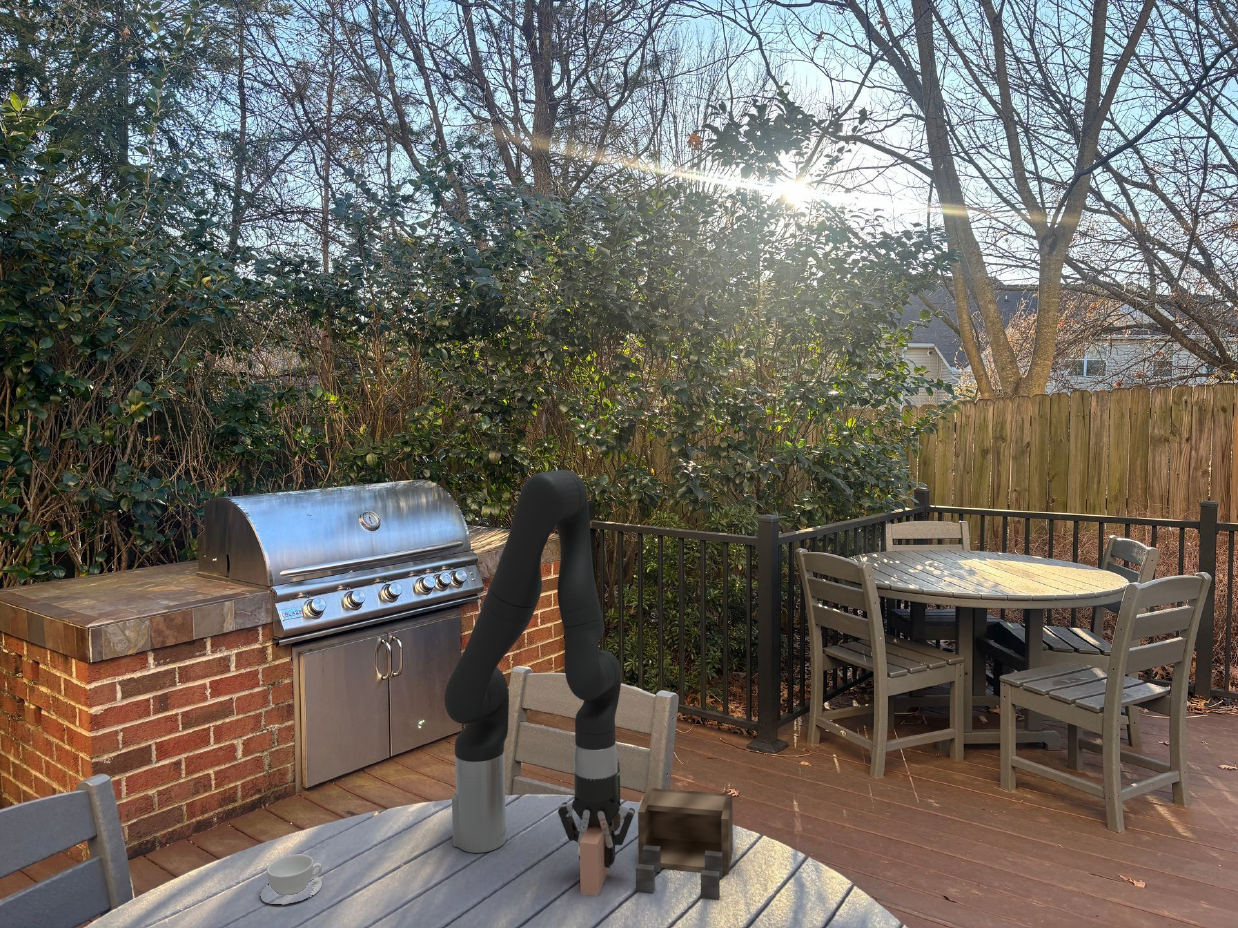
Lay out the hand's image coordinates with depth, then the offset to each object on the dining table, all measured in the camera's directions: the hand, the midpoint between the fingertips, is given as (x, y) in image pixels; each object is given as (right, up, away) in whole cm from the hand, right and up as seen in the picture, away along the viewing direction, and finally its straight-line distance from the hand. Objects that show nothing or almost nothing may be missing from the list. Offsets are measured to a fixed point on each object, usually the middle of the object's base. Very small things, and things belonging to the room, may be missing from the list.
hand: (597, 863), depth 148 cm
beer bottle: (0, -1, +18) cm, 18 cm away
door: (0, -2, 0) cm, 2 cm away
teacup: (-52, -3, -3) cm, 53 cm away
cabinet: (+15, -2, +3) cm, 16 cm away
